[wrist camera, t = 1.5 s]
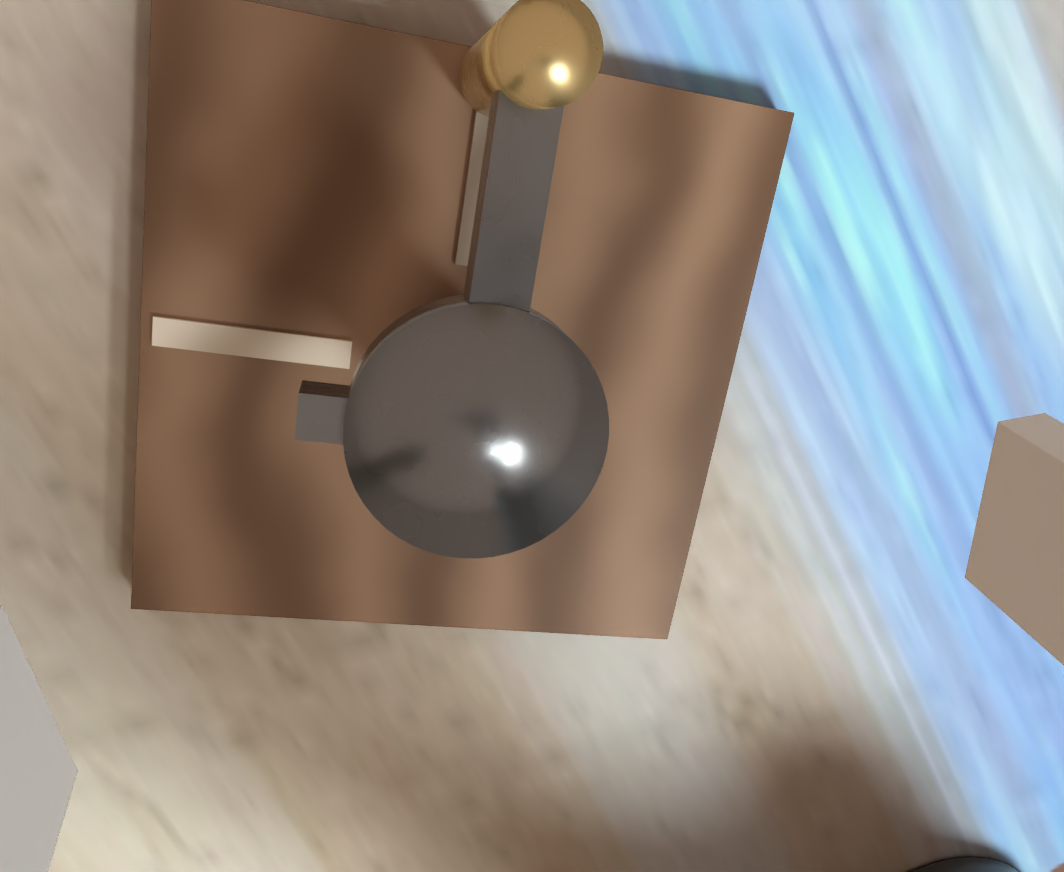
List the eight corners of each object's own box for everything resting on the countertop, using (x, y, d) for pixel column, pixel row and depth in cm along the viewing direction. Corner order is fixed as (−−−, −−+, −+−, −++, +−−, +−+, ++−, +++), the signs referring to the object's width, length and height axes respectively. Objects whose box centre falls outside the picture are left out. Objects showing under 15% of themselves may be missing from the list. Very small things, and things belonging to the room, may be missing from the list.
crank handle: (612, 60, 35) (712, 25, 24) (537, 475, 40) (594, 590, 30) (347, 5, 32) (334, -60, 22) (305, 452, 38) (279, 568, 27)
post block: (779, 114, 38) (892, 105, 30) (658, 624, 46) (721, 731, 38) (161, -12, 33) (88, -66, 24) (139, 592, 40) (77, 710, 32)
